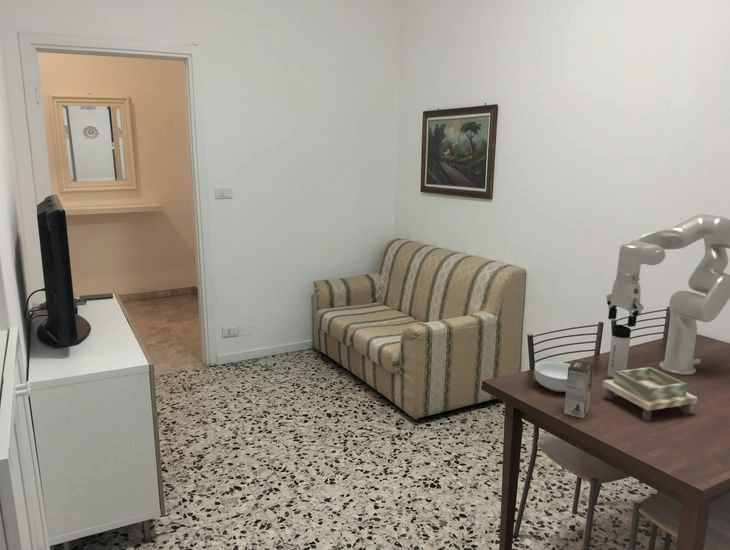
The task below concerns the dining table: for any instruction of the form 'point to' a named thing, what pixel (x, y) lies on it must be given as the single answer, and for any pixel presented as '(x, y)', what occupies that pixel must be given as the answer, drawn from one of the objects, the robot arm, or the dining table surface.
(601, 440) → the dining table surface
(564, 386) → the cereal bowl
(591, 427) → the dining table surface
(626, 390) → the framed shelf
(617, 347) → the travel mug
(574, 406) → the coffee box
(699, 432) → the dining table surface
